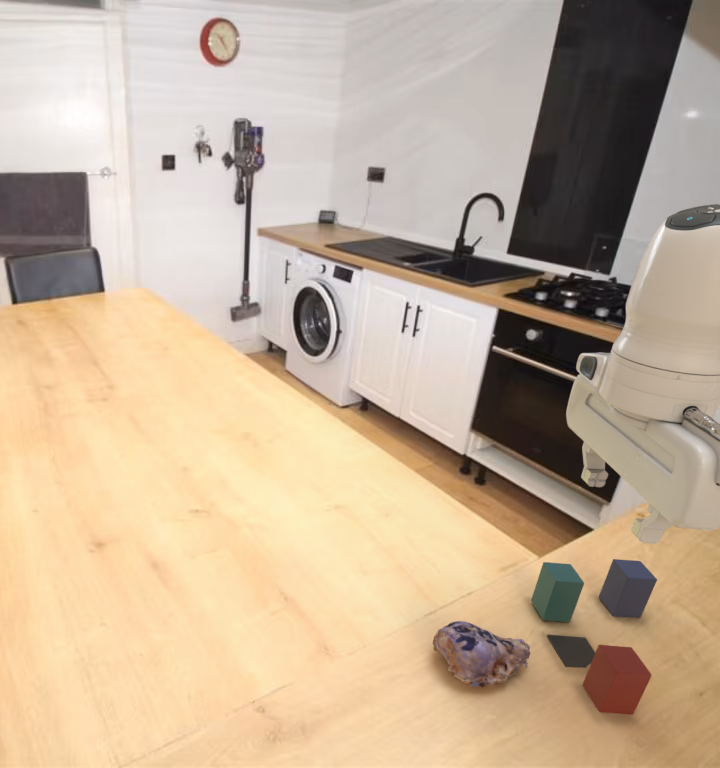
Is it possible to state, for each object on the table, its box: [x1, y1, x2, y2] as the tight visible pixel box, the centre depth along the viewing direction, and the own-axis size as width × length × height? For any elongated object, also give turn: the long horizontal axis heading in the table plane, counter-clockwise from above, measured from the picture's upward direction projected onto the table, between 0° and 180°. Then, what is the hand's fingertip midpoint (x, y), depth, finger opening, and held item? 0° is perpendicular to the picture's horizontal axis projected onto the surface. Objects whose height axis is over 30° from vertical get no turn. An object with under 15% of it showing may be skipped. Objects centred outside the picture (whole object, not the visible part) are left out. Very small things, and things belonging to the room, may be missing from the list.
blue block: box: [598, 558, 658, 619], centre depth 75 cm, size 4×4×7 cm
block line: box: [530, 561, 653, 715], centre depth 68 cm, size 5×17×7 cm, turn 174°
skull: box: [432, 620, 531, 688], centre depth 66 cm, size 12×8×6 cm, turn 90°
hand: (615, 508), depth 56 cm, fingers open, 8 cm apart
